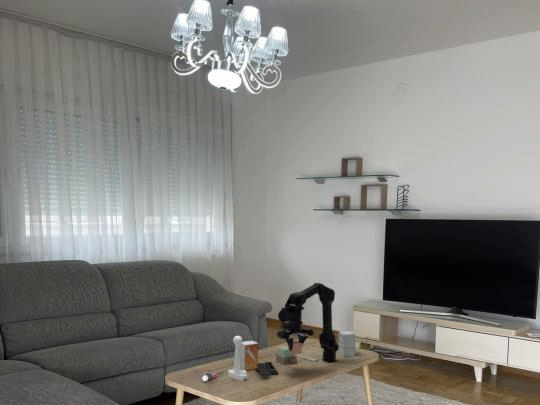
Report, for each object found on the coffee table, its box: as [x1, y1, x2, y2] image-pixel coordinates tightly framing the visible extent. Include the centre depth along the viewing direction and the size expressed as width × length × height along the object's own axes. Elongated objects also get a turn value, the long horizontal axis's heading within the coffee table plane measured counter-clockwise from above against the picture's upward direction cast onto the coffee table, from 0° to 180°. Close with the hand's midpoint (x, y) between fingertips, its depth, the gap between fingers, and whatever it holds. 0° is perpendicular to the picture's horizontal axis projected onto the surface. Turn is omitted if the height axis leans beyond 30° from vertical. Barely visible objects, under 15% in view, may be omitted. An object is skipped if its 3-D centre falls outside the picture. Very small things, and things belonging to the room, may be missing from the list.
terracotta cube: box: [288, 340, 303, 355], centre depth 249 cm, size 5×5×5 cm
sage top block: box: [276, 345, 296, 358], centre depth 266 cm, size 7×7×4 cm
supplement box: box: [337, 330, 356, 358], centre depth 283 cm, size 7×7×13 cm
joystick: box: [228, 335, 248, 382], centre depth 240 cm, size 11×8×20 cm
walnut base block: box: [275, 353, 298, 366], centre depth 265 cm, size 8×8×4 cm
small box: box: [240, 340, 259, 371], centre depth 254 cm, size 8×6×13 cm
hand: (295, 350), depth 249 cm, fingers closed on terracotta cube, 5 cm apart
